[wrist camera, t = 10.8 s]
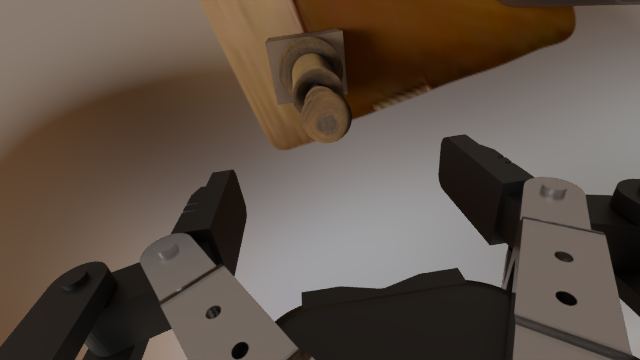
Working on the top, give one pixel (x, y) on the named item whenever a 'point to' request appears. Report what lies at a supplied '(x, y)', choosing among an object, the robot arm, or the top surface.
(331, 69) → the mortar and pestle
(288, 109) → the top surface
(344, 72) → the walnut stand
